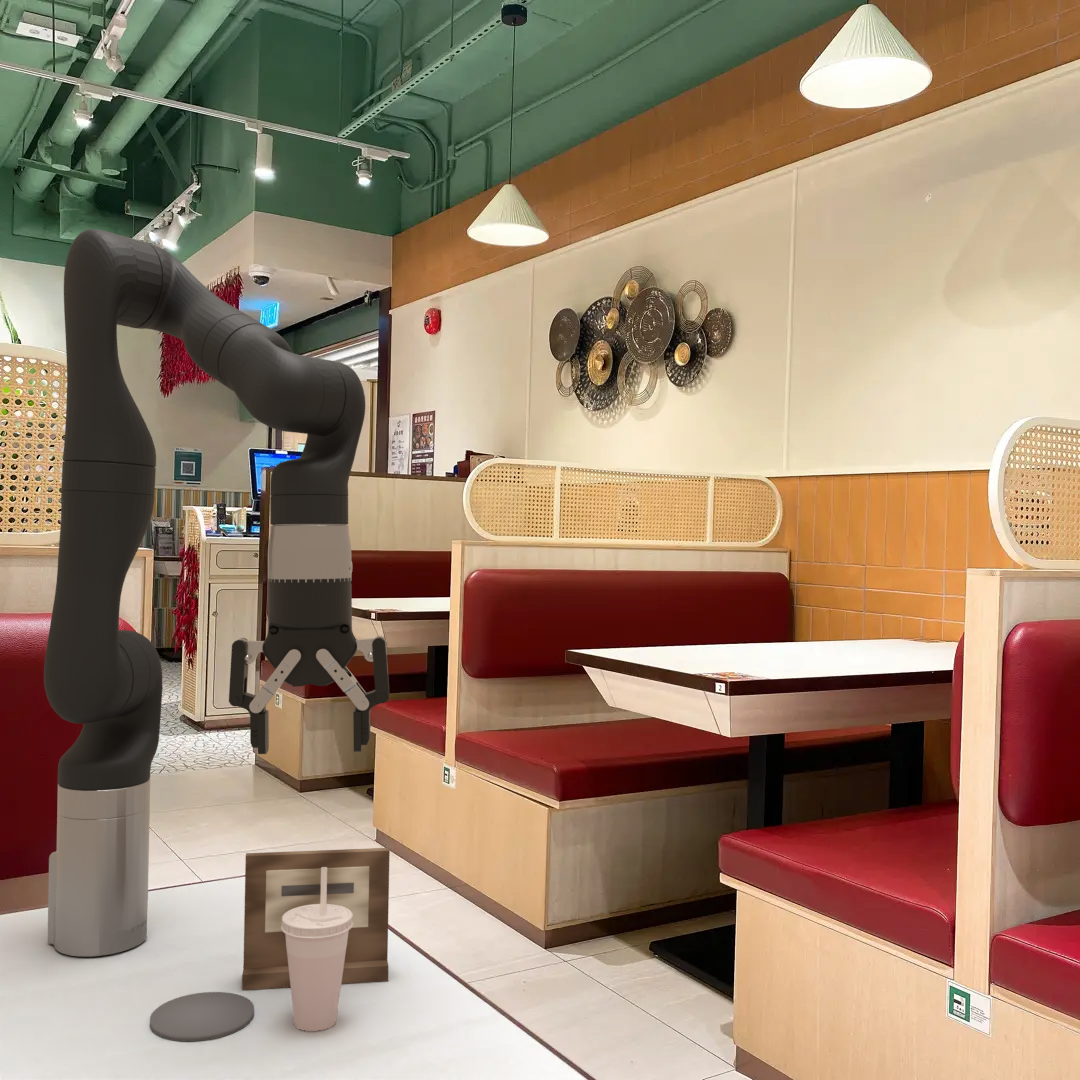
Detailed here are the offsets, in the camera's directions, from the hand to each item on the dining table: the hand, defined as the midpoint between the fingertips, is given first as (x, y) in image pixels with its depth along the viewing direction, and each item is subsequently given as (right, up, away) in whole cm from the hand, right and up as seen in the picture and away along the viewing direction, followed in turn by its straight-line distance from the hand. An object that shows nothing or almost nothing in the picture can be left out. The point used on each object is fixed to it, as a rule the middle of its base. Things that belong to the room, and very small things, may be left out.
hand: (311, 751), depth 98 cm
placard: (-1, -24, +9) cm, 26 cm away
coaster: (-10, -24, -1) cm, 26 cm away
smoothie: (+1, -25, -1) cm, 25 cm away
